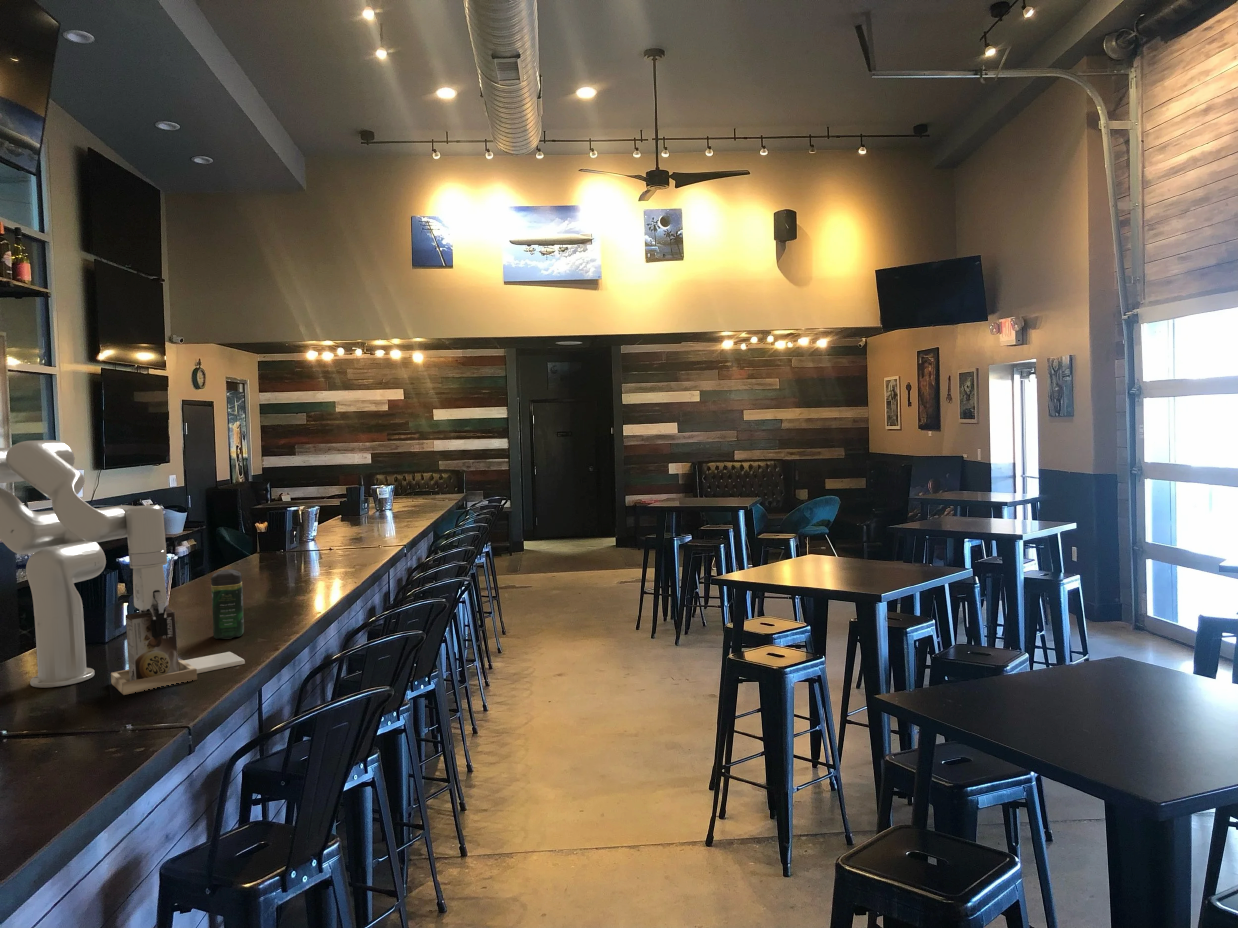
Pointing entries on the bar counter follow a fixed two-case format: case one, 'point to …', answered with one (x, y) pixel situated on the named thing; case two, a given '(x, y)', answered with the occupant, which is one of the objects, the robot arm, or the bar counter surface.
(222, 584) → the coffee jar
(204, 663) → the tile
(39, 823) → the bar counter surface
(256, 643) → the bar counter surface
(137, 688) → the holder frame
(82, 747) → the bar counter surface
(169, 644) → the coffee box
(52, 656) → the robot arm
